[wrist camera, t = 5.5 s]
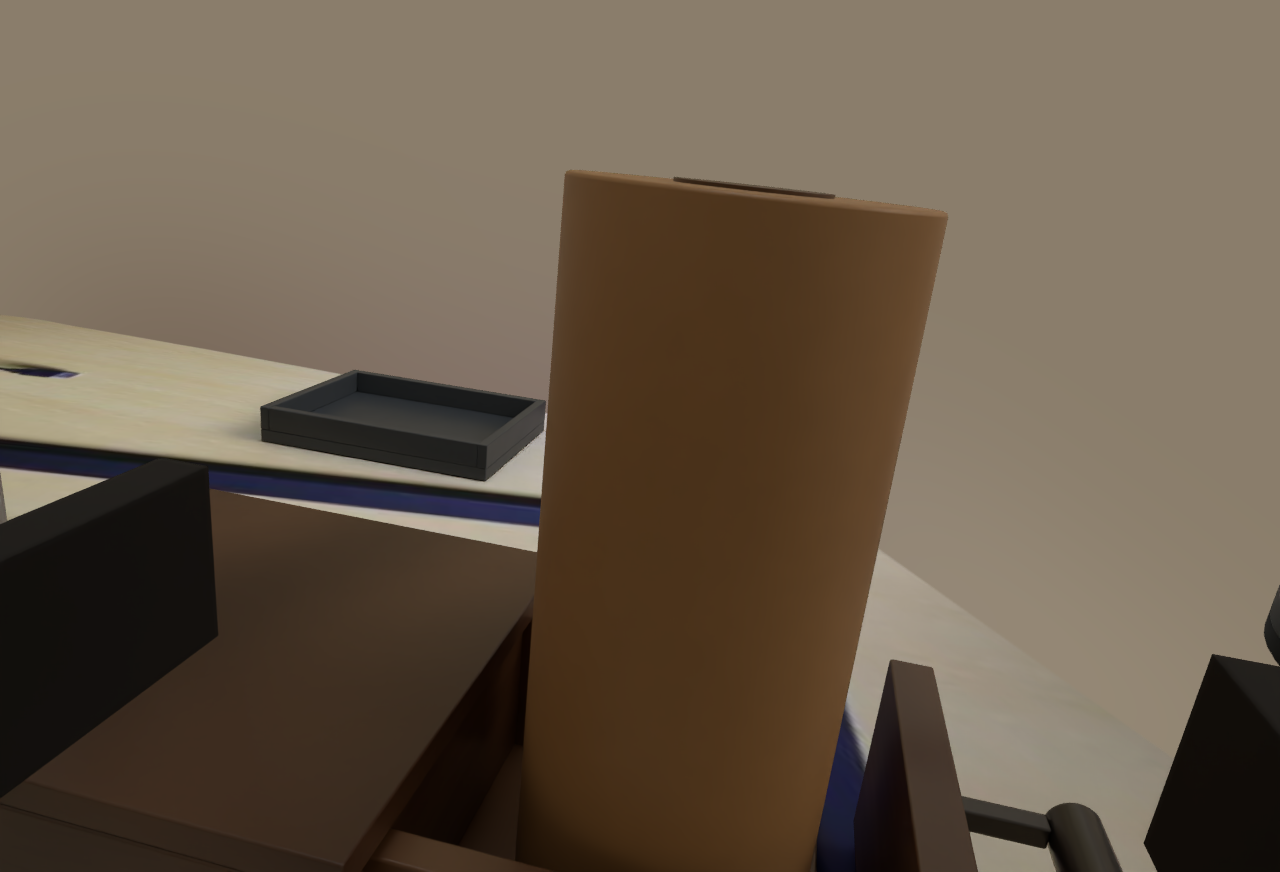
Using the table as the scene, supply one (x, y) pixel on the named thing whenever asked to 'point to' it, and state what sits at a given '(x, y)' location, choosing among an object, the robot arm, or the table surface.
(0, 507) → the coffee mug
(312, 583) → the cabinet
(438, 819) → the drawer
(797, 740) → the paper roll
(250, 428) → the table surface
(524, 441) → the tray
